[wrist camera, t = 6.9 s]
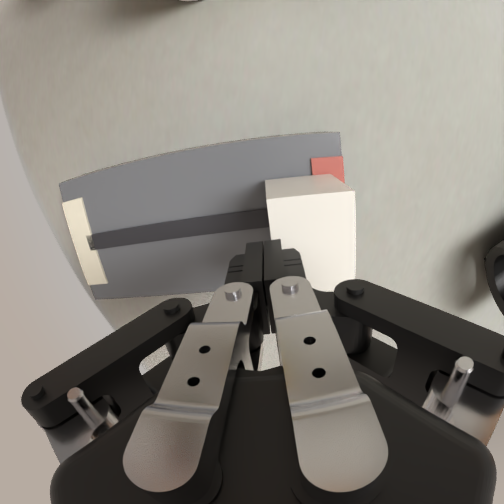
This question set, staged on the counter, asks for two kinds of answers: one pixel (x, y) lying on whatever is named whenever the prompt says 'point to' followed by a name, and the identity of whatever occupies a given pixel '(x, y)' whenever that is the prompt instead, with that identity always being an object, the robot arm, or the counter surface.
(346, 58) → the counter surface
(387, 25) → the counter surface
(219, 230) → the switch box
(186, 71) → the counter surface
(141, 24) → the counter surface
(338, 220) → the switch knob
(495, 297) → the muzzle brake
